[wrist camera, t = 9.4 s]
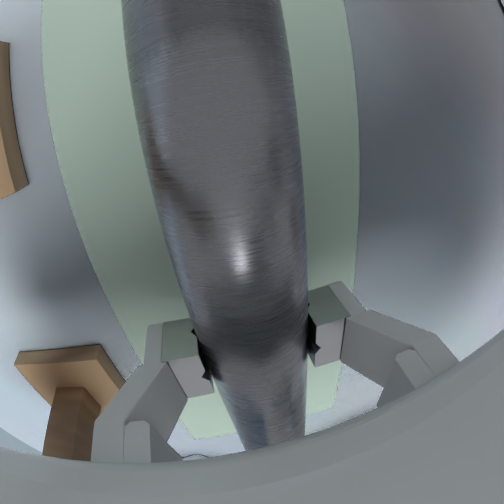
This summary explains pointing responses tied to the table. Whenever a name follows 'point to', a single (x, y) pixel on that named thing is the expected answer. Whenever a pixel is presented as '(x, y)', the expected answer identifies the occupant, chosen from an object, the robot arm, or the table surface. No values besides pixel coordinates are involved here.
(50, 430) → the hook stands
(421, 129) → the table surface
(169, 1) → the rail
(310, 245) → the mat
